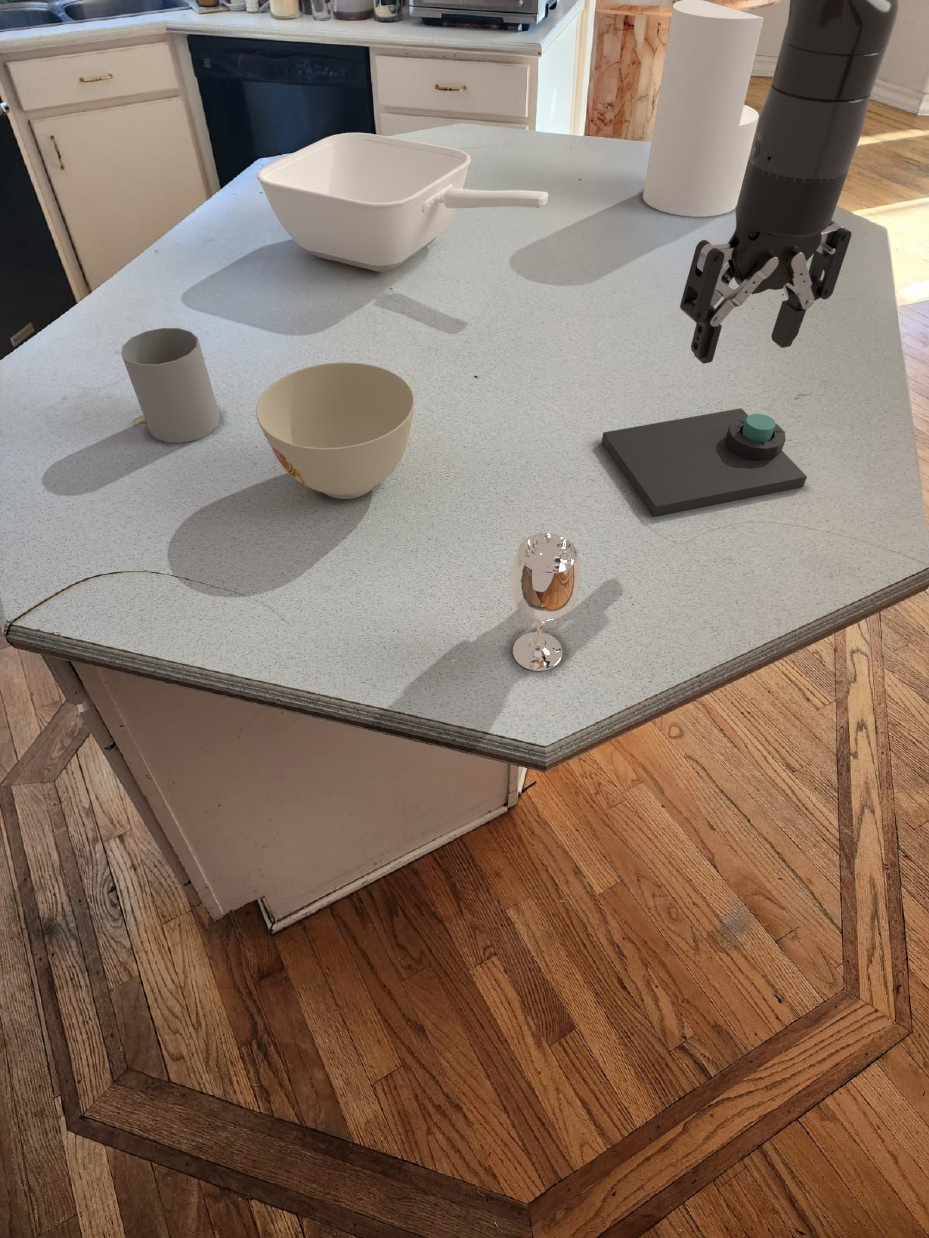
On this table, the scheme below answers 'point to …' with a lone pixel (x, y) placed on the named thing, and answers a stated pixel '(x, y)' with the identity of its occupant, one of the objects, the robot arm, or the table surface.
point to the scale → (700, 462)
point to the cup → (171, 384)
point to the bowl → (338, 425)
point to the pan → (375, 197)
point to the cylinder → (703, 111)
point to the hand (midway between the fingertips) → (741, 351)
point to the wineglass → (543, 594)
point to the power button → (758, 428)
